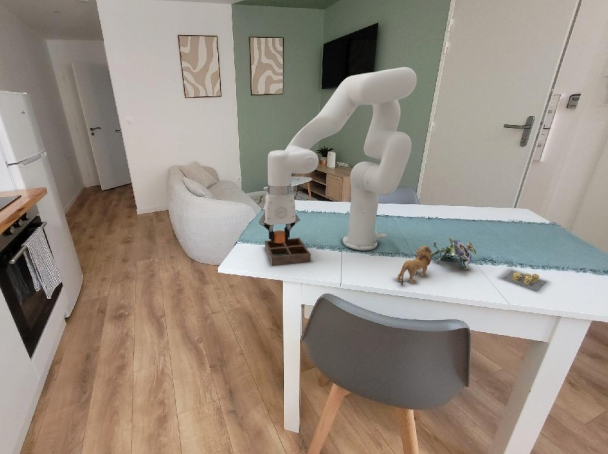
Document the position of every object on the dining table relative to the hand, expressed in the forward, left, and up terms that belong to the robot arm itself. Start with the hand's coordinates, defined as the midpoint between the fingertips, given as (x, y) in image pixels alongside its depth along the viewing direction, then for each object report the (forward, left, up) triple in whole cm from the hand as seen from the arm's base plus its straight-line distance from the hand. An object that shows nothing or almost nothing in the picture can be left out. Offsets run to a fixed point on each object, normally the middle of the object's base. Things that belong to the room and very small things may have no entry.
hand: (279, 239), depth 101 cm
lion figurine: (-38, +19, -8) cm, 44 cm away
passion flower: (-55, +15, -8) cm, 57 cm away
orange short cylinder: (0, 0, 0) cm, 0 cm away
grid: (-3, -3, -8) cm, 9 cm away
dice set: (-69, +27, -8) cm, 74 cm away
